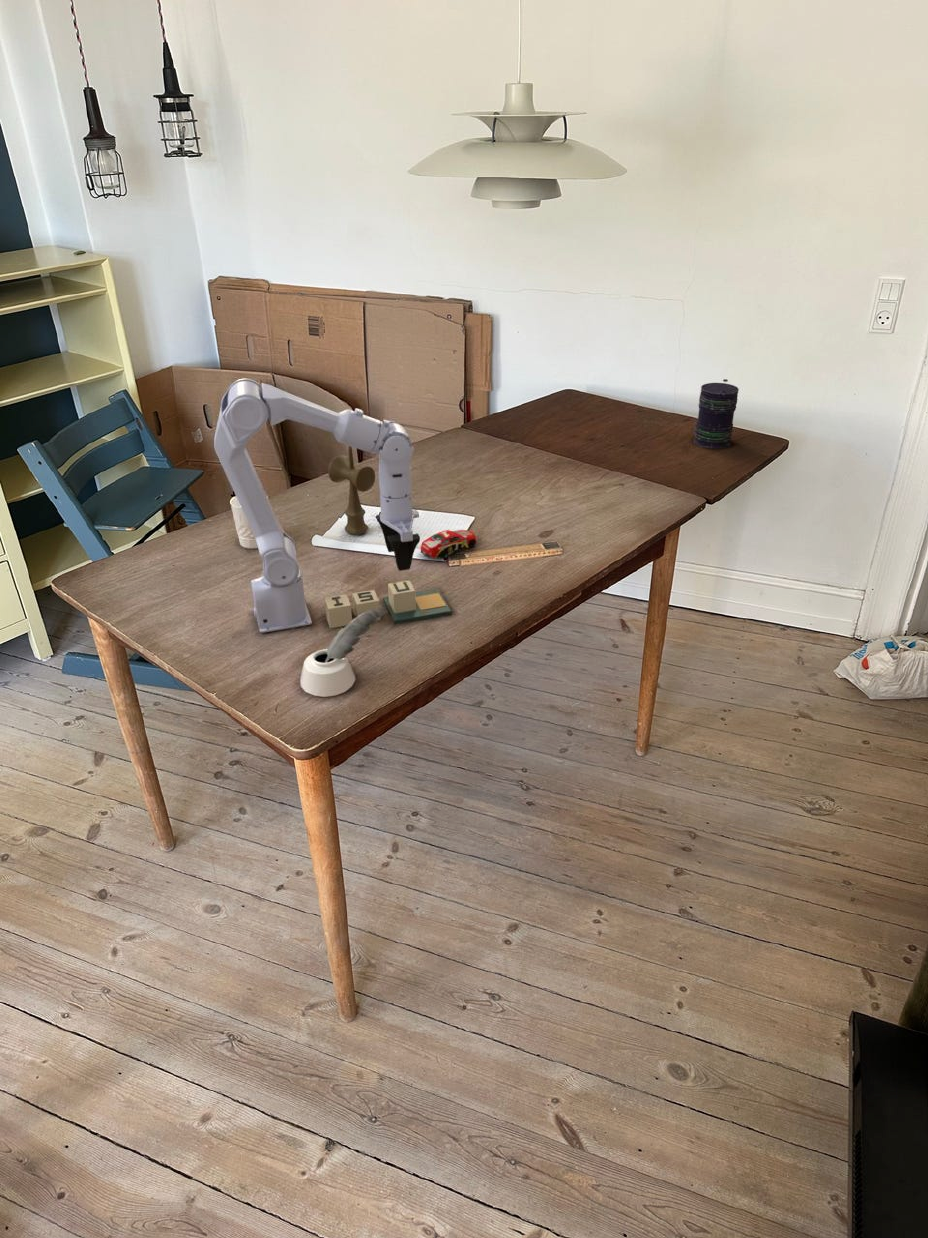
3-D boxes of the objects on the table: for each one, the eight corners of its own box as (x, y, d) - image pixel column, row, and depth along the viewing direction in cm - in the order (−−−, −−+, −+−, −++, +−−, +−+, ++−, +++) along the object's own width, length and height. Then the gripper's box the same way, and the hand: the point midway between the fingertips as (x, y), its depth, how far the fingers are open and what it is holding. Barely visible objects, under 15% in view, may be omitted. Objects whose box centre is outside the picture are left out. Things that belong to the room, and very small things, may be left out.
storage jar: (688, 436, 246) (697, 371, 236) (722, 434, 246) (732, 370, 237) (700, 449, 237) (710, 383, 228) (736, 447, 238) (746, 381, 228)
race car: (466, 536, 194) (466, 520, 192) (481, 545, 190) (481, 528, 188) (416, 553, 187) (416, 536, 185) (431, 562, 183) (430, 545, 181)
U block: (394, 613, 165) (393, 593, 162) (389, 602, 168) (387, 582, 166) (416, 610, 166) (415, 590, 164) (410, 599, 169) (409, 579, 167)
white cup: (229, 546, 190) (222, 504, 185) (249, 531, 197) (243, 490, 191) (261, 552, 188) (255, 509, 183) (280, 536, 194) (275, 494, 189)
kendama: (352, 520, 201) (345, 436, 190) (381, 533, 195) (375, 447, 185) (332, 529, 197) (324, 443, 187) (360, 542, 192) (354, 455, 181)
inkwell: (289, 681, 148) (282, 631, 143) (371, 639, 159) (368, 591, 154) (322, 705, 142) (316, 653, 137) (405, 659, 153) (403, 610, 148)
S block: (358, 623, 163) (356, 603, 161) (353, 612, 167) (352, 592, 165) (380, 619, 165) (379, 599, 162) (375, 608, 168) (374, 588, 166)
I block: (330, 628, 162) (327, 608, 160) (325, 617, 165) (323, 597, 163) (352, 624, 163) (350, 604, 161) (347, 613, 167) (346, 593, 164)
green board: (394, 624, 163) (394, 620, 163) (383, 600, 170) (383, 596, 170) (451, 614, 166) (451, 610, 165) (437, 591, 173) (437, 587, 173)
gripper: (428, 505, 152) (430, 574, 159) (406, 474, 164) (409, 540, 171) (388, 510, 150) (392, 580, 157) (369, 479, 162) (373, 545, 169)
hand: (398, 559), depth 164 cm, fingers open, 7 cm apart
